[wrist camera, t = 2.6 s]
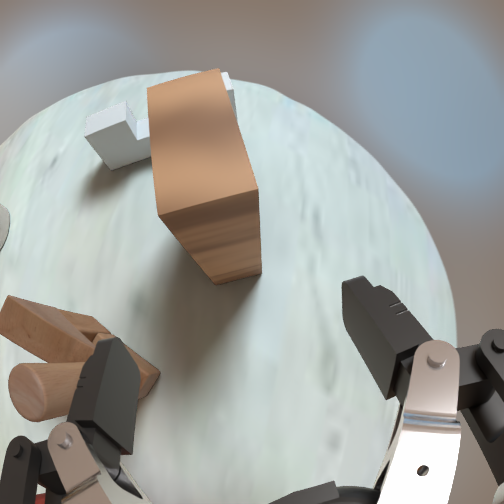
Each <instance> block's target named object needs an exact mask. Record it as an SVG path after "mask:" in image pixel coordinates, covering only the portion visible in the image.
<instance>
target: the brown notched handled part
mask: <svg viewBox="0 0 504 504" xmlns="http://www.w3.org/2000/svg"><path fill="white" fill-rule="evenodd" d="M0 334H1V335H3V336H4V337H6V338H7V339H9V340H10V341H12V342H14V343H15V344H17V345H18V346H20V347H22V348H23V349H25V350H27V351H28V352H30V353H32V354H33V355H35V356H37V357H39V358H40V359H42V360H44V361H46V362H48V363H21V364H18V365H17V366H15V367H14V368H13V369H12V371H11V373H10V375H9V380H8V388H9V393H10V398H11V400H12V402H13V405H14V407H15V408H16V410H17V411H18V413H19V414H20V415H21V416H22V417H24V418H25V419H27V420H29V421H32V422H41V421H45V420H49V419H53V418H56V417H60V416H64V415H67V414H69V410H70V406H71V403H72V399H73V396H74V392H75V389H77V387H76V386H77V383H78V380H79V379H80V378H79V376H80V373H81V370H82V367H83V365H84V364H85V362H86V361H87V359H88V358H89V357H90V355H93V353H94V350H95V347H96V344H97V342H98V341H99V340H102V339H108V338H113V337H115V336H114V335H112V334H111V333H110V331H108V330H107V329H106V328H105V327H104V326H103V325H101V324H100V323H99V322H98V321H97V320H96V319H95V318H93V317H92V316H87V315H82V314H78V313H73V312H69V311H64V310H60V309H57V308H55V307H51V306H47V305H43V304H39V303H35V302H32V301H28V300H24V299H21V298H17V297H14V296H10V295H8V296H7V298H6V300H5V302H4V305H3V307H2V309H1V312H0ZM123 344H124V343H123ZM124 346H125V347H126V349H127V350H128V352H129V353H130V355H131V356H132V358H133V359H134V361H135V362H136V364H137V366H138V368H139V371H140V376H141V381H140V388H139V396H138V399H140V398H142V397H145V396H147V394H148V393H149V391H150V390H151V388H152V386H153V385H154V383H155V381H156V380H157V378H158V376H159V375H160V371H159V370H158V369H157V368H155V367H154V366H153V365H151V364H150V363H149V362H147V361H146V360H145V359H143V358H142V357H141V356H139V355H138V354H137V353H135V352H134V351H133V350H132V349H130V348H129V347H128V346H127V345H125V344H124Z"/></svg>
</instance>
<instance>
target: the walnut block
mask: <svg viewBox="0 0 504 504" xmlns="http://www.w3.org/2000/svg"><path fill="white" fill-rule="evenodd" d="M147 100H148V119H149V134H150V147H151V158H152V169H153V178H154V187H155V196H156V204H157V212H158V216H159V218H160V219H161V220H162V221H163V223H164V224H165V225H166V226H167V228H168V229H169V230H170V231H171V232H172V234H173V235H174V236H175V237H176V239H177V240H178V241H179V242H180V243H181V245H182V246H183V247H184V248H185V250H186V251H187V252H188V253H189V254H190V256H191V257H192V258H193V259H194V260H195V262H196V263H197V264H198V265H199V266H200V267H201V269H202V270H203V271H204V272H205V273H206V275H207V276H208V277H209V278H210V279H211V280H212V282H213V283H214V284H215V285H219V284H223V283H227V282H231V281H234V280H238V279H242V278H246V277H250V276H254V275H258V274H261V273H262V262H261V238H260V215H259V192H258V186H257V183H256V180H255V177H254V173H253V170H252V167H251V164H250V161H249V158H248V154H247V151H246V148H245V145H244V142H243V139H242V136H241V133H240V130H239V126H238V123H237V120H236V117H235V114H234V111H233V108H232V105H231V102H230V99H229V96H228V93H227V90H226V87H225V84H224V81H223V78H222V75H221V73H220V70H219V68H218V69H213V70H209V71H205V72H201V73H197V74H193V75H189V76H185V77H182V78H178V79H174V80H171V81H168V82H164V83H161V84H158V85H155V86H152V87H149V88H147Z"/></svg>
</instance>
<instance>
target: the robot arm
mask: <svg viewBox="0 0 504 504" xmlns="http://www.w3.org/2000/svg"><path fill="white" fill-rule="evenodd" d="M9 224H10V216H9V212H8V210H7V209H6V208H5V207H4V206H3V205H1V204H0V249H1V248H2V246H3V244H4V242H5V240H6V237H7V234H8V230H9ZM342 314H343V321H344V325H345V328H346V330H347V332H348V334H349V336H350V337H351V339H352V341H353V342H354V344H355V346H356V348H357V349H358V351H359V353H360V355H361V356H362V358H363V360H364V362H365V363H366V365H367V367H368V369H369V371H370V372H371V374H372V376H373V378H374V379H375V381H376V383H377V385H378V387H379V388H380V390H381V392H382V394H383V396H384V398H385V399H386V400H388V399H390V398H392V397H394V396H396V397H397V398H398V400H399V402H400V404H399V407H398V411H397V415H396V419H395V423H394V427H393V431H392V434H391V438H390V441H389V444H388V448H387V451H386V454H385V457H384V459H383V462H382V464H381V467H380V469H379V472H378V475H377V477H376V480H375V483H374V485H373V488H372V489H371V488H366V487H358V486H340V487H336V485H335V482H334V481H331V482H328V483H325V484H322V485H318V486H315V487H311V488H308V489H304V490H300V491H296V492H293V493H291V494H289V495H287V496H285V497H282V498H280V499H278V500H276V501H273V502H271V503H269V504H446V503H447V499H448V496H449V492H450V488H451V484H452V480H453V475H454V471H455V466H456V460H457V455H458V449H459V442H460V436H461V424H460V422H457V421H456V412H457V411H459V410H460V411H461V413H462V414H463V416H464V418H465V420H466V422H467V423H468V425H469V427H470V429H471V431H472V432H473V435H474V436H475V438H476V440H477V442H478V444H479V446H480V448H481V450H482V452H483V454H484V456H485V458H486V460H487V462H488V464H489V466H490V468H491V471H492V473H493V475H494V477H495V479H496V482H497V483H498V486H499V487H498V489H497V491H496V493H495V496H494V500H493V504H504V330H501V329H492V330H489V331H487V332H486V333H485V334H484V335H483V336H482V339H481V341H480V343H479V344H477V345H472V346H467V347H462V348H454V347H453V346H452V345H451V344H449V343H447V342H445V341H441V340H433V339H432V338H431V336H430V335H429V334H428V333H427V331H426V330H425V329H424V328H423V327H422V325H421V324H420V323H419V322H418V321H417V319H416V318H415V317H414V316H413V315H412V314H411V312H410V311H408V310H407V308H406V307H405V305H404V304H403V303H401V301H400V300H399V298H398V297H397V296H396V295H395V294H394V293H393V292H392V291H390V290H388V289H386V288H385V287H383V286H381V285H379V286H376V287H373V286H372V285H371V283H370V282H369V281H368V280H367V279H366V278H365V277H364V276H360V277H356V278H353V279H350V280H347V281H343V282H342ZM79 378H80V379H79V380H78V383H77V386H76V387H77V389H75V392H74V396H73V399H72V403H71V406H70V410H69V414H68V417H67V421H66V422H64V423H61V424H59V425H57V426H56V427H55V428H54V429H53V430H52V431H51V433H50V435H49V437H48V440H45V441H42V442H38V443H35V444H34V443H33V442H31V441H30V440H29V439H28V438H27V437H25V436H17V437H15V438H14V439H13V440H12V441H11V442H10V443H9V445H8V448H7V451H6V455H5V460H4V464H3V469H2V474H1V480H0V504H35V501H36V491H37V483H38V484H39V485H41V486H43V487H44V488H46V493H45V504H153V503H152V502H151V501H150V500H149V499H148V497H147V496H146V495H145V494H144V492H143V491H142V490H141V489H140V487H139V486H138V485H137V483H136V482H135V480H134V479H133V478H132V476H131V475H130V474H129V472H128V471H127V469H126V468H125V466H124V465H123V464H122V463H121V462H120V455H132V453H133V441H134V431H135V421H136V412H137V404H138V396H139V388H140V381H141V376H140V371H139V368H138V366H137V364H136V362H135V361H134V359H133V358H132V356H131V355H130V353H129V352H128V350H127V349H126V347H125V346H124V344H123V342H122V341H121V339H120V338H118V337H113V338H108V339H102V340H99V341H98V342H97V344H96V347H95V350H94V353H93V355H90V357H89V358H88V359H87V361H86V362H85V364H84V365H83V367H82V370H81V373H80V376H79Z"/></svg>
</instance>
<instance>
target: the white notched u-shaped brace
mask: <svg viewBox="0 0 504 504" xmlns="http://www.w3.org/2000/svg"><path fill="white" fill-rule="evenodd" d="M221 75H222V78H223V81H224V84H225V87H226V90H227V93H228V96H229V99H230V102H231V105H232V108H233V111H234V114H235V117H236V120H237V114H236V106H235V98H234V90H233V87H232V84H231V81H230V78H229V76H228V73H227V72H225V73H221ZM237 123H238V122H237ZM84 137H85V138H86V139H87V141H88V142H89V143H90V145H91V146H92V147H93V148H94V150H95V151H96V152H97V154H98V155H99V156H100V157H101V159H102V160H103V161H104V162H105V164H106V165H107V166H108V167H109V168H110V170H111V171H112V170H114V169H117V168H120V167H123V166H125V165H128V164H131V163H134V162H137V161H140V160H143V159H146V158H149V157H151V147H150V134H149V119H148V117H147V118H144V119H142V120H139V121H136V119H135V117H134V115H133V113H132V112H131V110H130V108H129V106H128V104H127V102H126V101H125V102H122V103H119V104H117V105H114V106H112V107H109V108H107V109H104V110H102V111H99V112H97V113H95V114H92V115H90V116H88V117H87V119H86V127H85V135H84Z"/></svg>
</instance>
